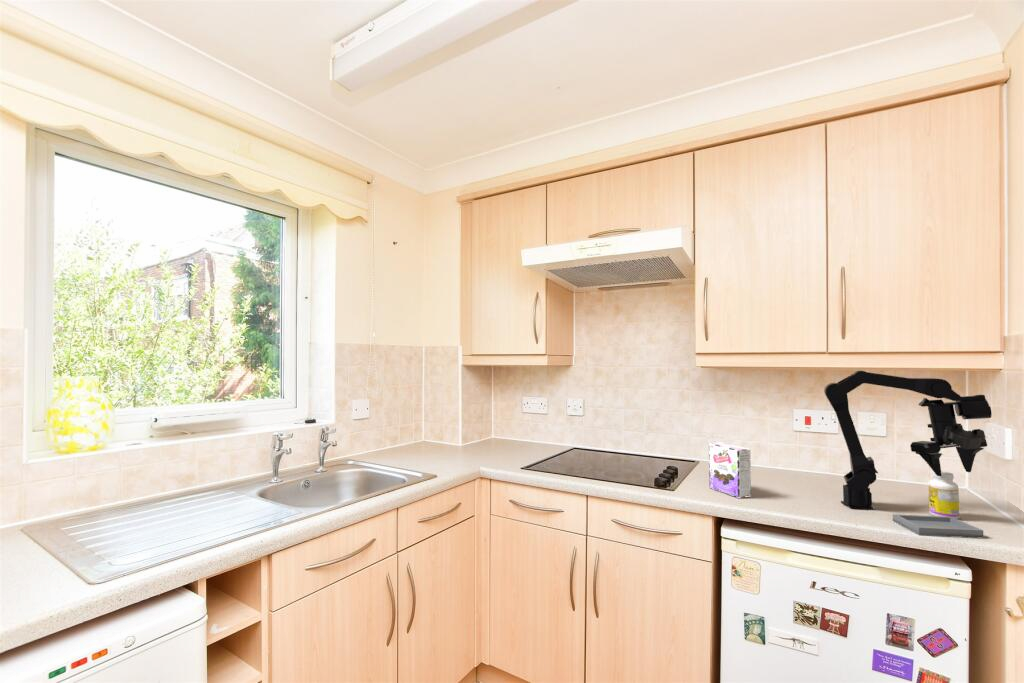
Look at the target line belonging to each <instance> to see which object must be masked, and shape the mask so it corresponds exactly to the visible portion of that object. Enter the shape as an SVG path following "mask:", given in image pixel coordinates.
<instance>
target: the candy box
mask: <svg viewBox="0 0 1024 683" xmlns="http://www.w3.org/2000/svg"><path fill="white" fill-rule="evenodd" d="M751 465H752V464H751V448H747V447H743V446H738V445H733V444H729V443H724V442H721V441H719V442H710V443H708V466H709V467H708V468H709V470H708V474H709V477H708V478H709V480H708V481H709V483H708V484H709V488H710V487H711V488H714V489H717V490H720V491H723V492H725V493H728V494H731V495H734V496H736V497H745V496H751V497H752V492H751V491H752V484H751V481H752V480H751V479H752V476H751V474H752V473H751V472H752V471H751ZM711 488H710V489H711ZM725 493H724V494H725ZM728 494H727V495H728ZM731 495H730V496H731ZM736 497H735V498H736Z"/></svg>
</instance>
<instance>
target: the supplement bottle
mask: <svg viewBox="0 0 1024 683" xmlns="http://www.w3.org/2000/svg"><path fill="white" fill-rule="evenodd" d="M931 474H932V477H933V478H932V479H931V480H928V483H927V484H928V504H929V505H928V506H929V507H928V508H929V510H928V511H929V514H930V516H950V517H953V518H956V519H958V520H960V515H961V514H960V495H959V494H960V493H959V490H960V489H959V485H958V484H957V483H956V482H954V474H953V473H951V472H948V471H941V476H937V475H936V474H935V473H934V471H933V470H932V472H931Z"/></svg>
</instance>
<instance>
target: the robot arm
mask: <svg viewBox="0 0 1024 683" xmlns="http://www.w3.org/2000/svg"><path fill="white" fill-rule="evenodd" d="M863 384H868V385H875V386H879V387H880V386H881V387H887V388H894V389H899V390H900V389H901V390H908V391H912V392H915V393H918V394H922V395H925V396H927V397H931V398H932V397H933V398H936V399H931V400H930V399H928V398H927V397H923V399H922V401H920V402H919V403H918V406H920V407H925V408H926V407H927V410H928V416H929V421H930V423H927V424H926V425H927V428H929V429H931V430H932V436H933V437H929V439H930V441H928V440H919V441H912V442H911V443H910V450H911V451H910V452H913V453H915V454H916V455H919V456H920V457H921V458H922V459H923V461H925V463H926V464H927V465H928V466H929V468H930V469H931V470H932V472H933V471H934V473H935V474H936V475H937V476H941V472H942V468H941V462H940V459H941V456H943V453H942V452H941V450H942V449H949V448H955V449H956V451H957V454H958V456H959V459H960V461H961V464H962V466H963V469H964V471H965V472H966V473H971V472H972V469H973V464H974V462H975V458H976V455H977V454H978V453H979V452H980V451H983V450H984V447H985V448H986V447H988V442H987V439H986V434H985V431H984V430H982V429H981V428H976V429H972V430H965V429H964V427H963V424H962V423H957V418H956V416H957V417H961V418H962V419H963V420H981V419H991V418H992V407H991V406H990V405H989V402H988V400H987V399H986V396H985V394H975V395H963V396H961V395H960V394H959V393H957V392H956V391H955V390H953V389H952V388H953V387H952V385H951V383H950V382H949V381H948V380H946V379H942V378H937V377H904V376H897V375H891V374H890V375H888V374H882V373H873V372H867V371H865V370H856V371H854V372H853V373H852V374H850V375H849V376H846V377H845V378H843V379H841V380H839V381H838V382H830V383H828V384H827V385H826V386H824V390H823V392H824V393H823V394H824V395H825V397H826V399H827V400H828V402H829V403H830V406H831V407H832V409H833V411H834V413H835V415H836V418H837V421H838V424H839V428H840V430H841V432H842V436H843V438H844V441H845V444H846V447H847V450H848V453H849V462H850V464H849V465H850V469H851V470H850V471H849V472H847V473H846V474H844V476H843V478H844V481H845V483H846V484H842V493H843V494H842V497H843V500H841V501H840V503H841V504H843V505H844V506H846V507H848V508H850V509H853V510H855V509H857V510H874V507H873V499H872V498H873V497H872V496H873V494H872V492H871V488H870V485H872V484H874V483H875V482H876V480H877V474H879V471H878V470H877V469H876V467H875V461H874V459H873V458H872V456H868V457H867V456H866V455H865V453H864V450H863V447H862V444H861V441H860V439H859V435H858V433H857V430H856V426H855V425H854V421H853V418H852V415H851V414H850V408H849V399H848V398H849V397H848V394H849V393H850V392H852V391H854V390H856V389H857V388H858V387H860V386H862V385H863ZM943 399H945V400H949V401H950V402H949V401H945V402H944V401H943ZM940 452H941V453H940Z"/></svg>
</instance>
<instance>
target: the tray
mask: <svg viewBox="0 0 1024 683" xmlns="http://www.w3.org/2000/svg"><path fill="white" fill-rule="evenodd" d="M893 521H894V523H895V522H896V523H895V524H897V523H898V524H897V525H899V526H901V527H903V528H904V529H907V530H909V531H910V532H912V533H915V534H916V535H918V536H925V537H927V536H928V537H929V536H930V537H947V538H948V537H951V536H962V537H961V538H968V537H983V538H982V539H984V529H982V528H978V527H977V526H974V525H971V524H969V523H967V522H965V521H963V520H961V519H956V518H953V517H950V516H933V515H923V514H922V515H921V514H920V515H919V514H918V515H917V514H900V513H899V514H898V513H895V514H894V513H892V522H893ZM951 538H952V537H951Z"/></svg>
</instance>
